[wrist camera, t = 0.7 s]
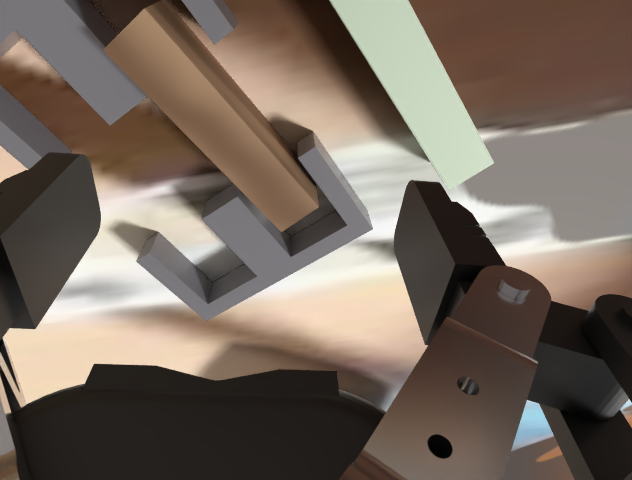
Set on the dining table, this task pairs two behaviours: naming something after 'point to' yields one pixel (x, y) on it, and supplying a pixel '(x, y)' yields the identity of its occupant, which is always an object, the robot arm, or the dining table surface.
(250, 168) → the walnut slat
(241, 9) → the dining table surface
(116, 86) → the frame
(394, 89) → the sage slat
